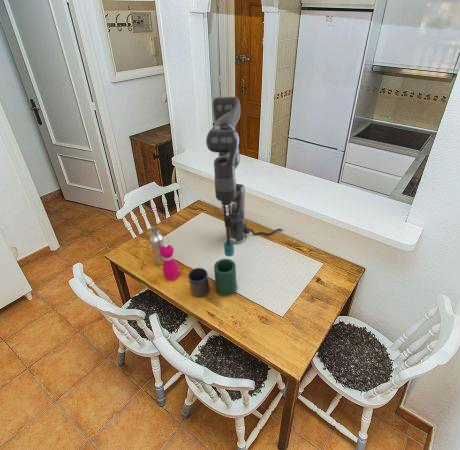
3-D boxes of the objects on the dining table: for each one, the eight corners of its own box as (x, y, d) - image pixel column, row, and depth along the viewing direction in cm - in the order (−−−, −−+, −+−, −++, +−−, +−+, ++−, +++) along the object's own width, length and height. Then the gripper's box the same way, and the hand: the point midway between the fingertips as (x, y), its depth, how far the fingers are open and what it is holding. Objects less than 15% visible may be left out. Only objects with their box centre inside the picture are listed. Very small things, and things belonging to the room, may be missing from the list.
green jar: (228, 277, 150) (226, 255, 141) (240, 289, 144) (239, 266, 136) (212, 287, 145) (209, 265, 137) (224, 299, 139) (222, 277, 131)
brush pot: (202, 280, 148) (200, 265, 142) (213, 291, 143) (211, 275, 137) (187, 289, 144) (184, 274, 138) (197, 300, 139) (194, 285, 133)
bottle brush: (230, 248, 134) (227, 204, 120) (236, 253, 132) (234, 208, 118) (222, 252, 132) (219, 208, 118) (228, 257, 130) (225, 212, 116)
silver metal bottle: (165, 267, 156) (158, 235, 144) (152, 265, 157) (144, 233, 145) (170, 258, 161) (164, 226, 149) (158, 256, 162) (150, 225, 150)
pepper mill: (182, 272, 153) (176, 240, 141) (175, 283, 147) (168, 250, 135) (169, 269, 155) (162, 237, 143) (161, 279, 149) (153, 247, 137)
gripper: (237, 195, 107) (238, 235, 118) (234, 175, 118) (236, 213, 128) (215, 196, 107) (218, 236, 117) (214, 176, 117) (217, 215, 128)
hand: (227, 224), depth 123 cm, fingers closed on bottle brush
